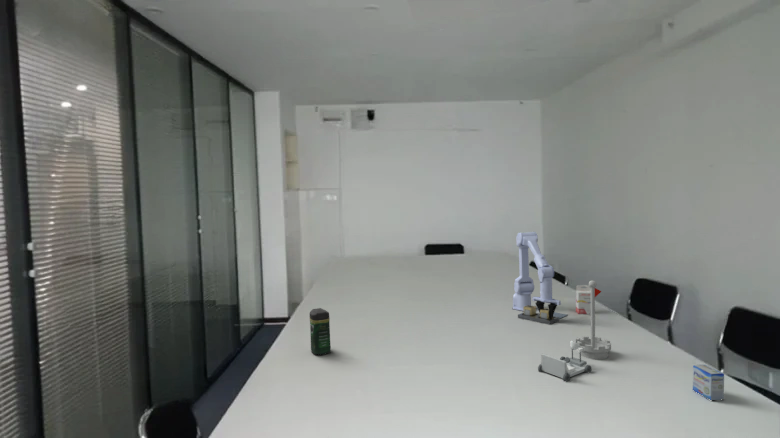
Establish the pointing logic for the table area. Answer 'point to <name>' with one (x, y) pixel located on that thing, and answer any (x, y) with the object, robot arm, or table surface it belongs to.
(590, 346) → the flag stand
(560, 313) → the slate mat
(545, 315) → the gold knob block
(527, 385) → the table surface
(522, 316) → the grey flat rectangular frame
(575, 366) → the toy car
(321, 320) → the coffee jar
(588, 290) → the ink cartridge box
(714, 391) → the medicine box
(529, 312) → the gold drawer
